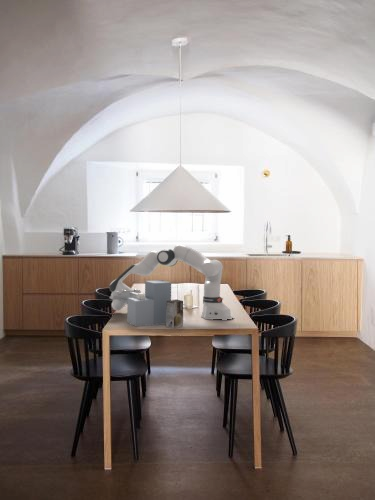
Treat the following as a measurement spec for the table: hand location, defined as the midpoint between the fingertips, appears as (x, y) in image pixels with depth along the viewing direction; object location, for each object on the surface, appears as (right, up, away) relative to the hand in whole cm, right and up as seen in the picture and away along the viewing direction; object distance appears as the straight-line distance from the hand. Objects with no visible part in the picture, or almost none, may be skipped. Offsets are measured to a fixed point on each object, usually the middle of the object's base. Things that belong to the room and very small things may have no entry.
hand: (129, 290), depth 323 cm
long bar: (+6, -4, -11) cm, 13 cm away
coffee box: (+31, -21, -24) cm, 44 cm away
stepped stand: (+14, -20, -13) cm, 27 cm away
